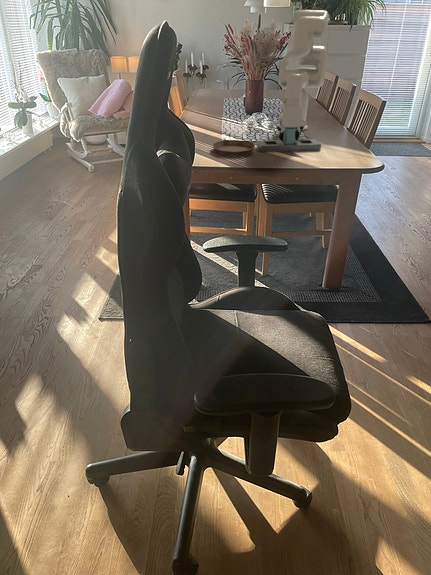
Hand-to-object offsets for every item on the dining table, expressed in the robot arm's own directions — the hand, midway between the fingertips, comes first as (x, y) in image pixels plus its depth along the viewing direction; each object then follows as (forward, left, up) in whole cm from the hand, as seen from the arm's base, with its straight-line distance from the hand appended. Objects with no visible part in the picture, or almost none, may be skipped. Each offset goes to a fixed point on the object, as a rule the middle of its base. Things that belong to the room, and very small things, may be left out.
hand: (288, 139), depth 227 cm
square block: (0, 0, -4) cm, 4 cm away
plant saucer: (+2, -28, -5) cm, 28 cm away
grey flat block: (0, 0, -4) cm, 4 cm away
